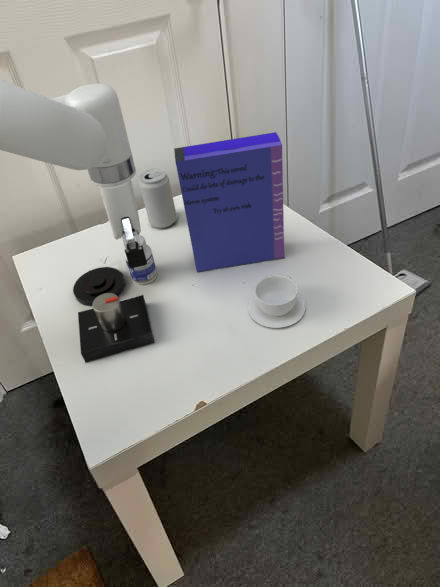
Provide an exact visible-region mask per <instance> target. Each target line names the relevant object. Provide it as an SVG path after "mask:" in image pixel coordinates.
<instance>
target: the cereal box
mask: <svg viewBox="0 0 440 587" xmlns="http://www.w3.org/2000/svg"><path fill="white" fill-rule="evenodd" d="M173 151H174V160H175V161H174V162H175V166H176V172H177V176H178V183H179V187H180V192H181V198H182V202H183V208H184V214H185V218H186V223H187V228H188V233H189V239H190V244H191V249H192V254H193V259H194V264H195V270H196V273H201V272H202V273H203V272H209V271H215V270H219V269H220V270H221V269H227V268H232V267H240V266H246V265H251V264H258V263H263V262H270V261H276V260H282V259H285V227H284V225H285V224H284V223H285V222H284V221H285V219H284V218H285V217H284V180H283V179H284V175H283V172H284V169H283V167H284V166H283V165H284V164H283V142H282V141H281V139H280V137H279V134H278V133H277V131H274V132H268V133H262V134H261V133H260V134H255V135H249V136H243V137H237V138H231V139H225V140H218V141H213V142H205V143H200V144H195V145H188V146H179V147H174V148H173Z"/></svg>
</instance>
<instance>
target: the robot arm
mask: <svg viewBox="0 0 440 587" xmlns="http://www.w3.org/2000/svg"><path fill="white" fill-rule="evenodd" d="M0 151H2V152H7V153H10V154H14V155H18V156H21V157H25V158H29V159H31V160H35V161H38V162H42V163H46V164H51V165H55V166H58V167H62V168H65V169H70V170H74V171H86V170H87V172H88V175H89V178H90V181H91V183H92V184H93V185H95V186H97V187H99V191H100V195H101V199H102V202H103V207H104V210H105V212H106V216H107V219H108V222H109V226H110V230H111V232H112V236H113V239H115V240H119V239H122V242H123V246H124V253H125V254H126V257H127V260H128V264H129V267H130V268H136V267H140V266H144V265H147V260H146V257H145V253H144V249H143V246H141V244H140V240H139V236H138V235H141V233H142V229H141V222H140V215H139V210H138V204H137V199H136V196H135V195H136V194H135V191H134V187H133V183H132V179H133V178H134V177H135V176H136V174H137V169H136V165H135V161H134V157H133V152H132V148H131V145H130V140H129V137H128V132H127V128H126V124H125V120H124V116H123V112H122V108H121V104H120V100H119V96H118V93H117V91H116V90H115V88H114V87H112V86H111V85H109V84H106V83H89V84H84V85H81V86H78V87H76V88H74V89H73V90H72V91H70V92H69V93H67V94H64V95H60V96H56V97H51V98H49V97H46V96H45V95H41V94H39V93H36V92H34V91H32V90H28V89H25V88H23V87H20V86H18V85H15V84H13V83H10V82H8V81H5V80H3V79H1V78H0ZM134 236H135V237H136V240H137V242H136V241H135V240H134ZM126 239H127V241H126Z"/></svg>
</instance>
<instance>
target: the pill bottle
mask: <svg viewBox="0 0 440 587" xmlns="http://www.w3.org/2000/svg"><path fill="white" fill-rule="evenodd" d="M138 236H139V240H140V244H141V246H143V249H144V253H145V257H146V260H147V265H144V266H140V267H136V268H130V267H129V264H128V260H127V257H126V254H125V252H124V254H123V258H124V260H125V264H126V266H127V269H128V272H129V275H130V278H131V280H132V282H133V283H135V284H136V285H148V284H150V283H152V282H153V281H155V280H156V279H157V277H158V269H157V265H156V263H155V262H156V261H155V259H154V258H155V257H154V255H153V251H152V248H151V246H150V245H148V244H147V241H146V239H145V236H143V235H141V234H139V235H138ZM134 240H135V241H136V242H137V240H136V237H135V236H134ZM126 241H127V239H126Z"/></svg>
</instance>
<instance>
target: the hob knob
mask: <svg viewBox="0 0 440 587" xmlns="http://www.w3.org/2000/svg"><path fill="white" fill-rule="evenodd" d="M120 301H121V300H120V299H119V296H117V295H115V294H113V293H105V294H102V295H100V296H98V297H97V298H96V299H95V300H94V301H93V304H92V306H91V307H92V309H94V311H95V314H96V316H97V318H98V321H99V323H100V325H101V328H102V329H103V330H105V331H108V332H113V331H117V330H119V329H120V328H122V327H123V326H124V324H125V322H126V317H125V314H124V312H123V309H122V306H121V304H120Z"/></svg>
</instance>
